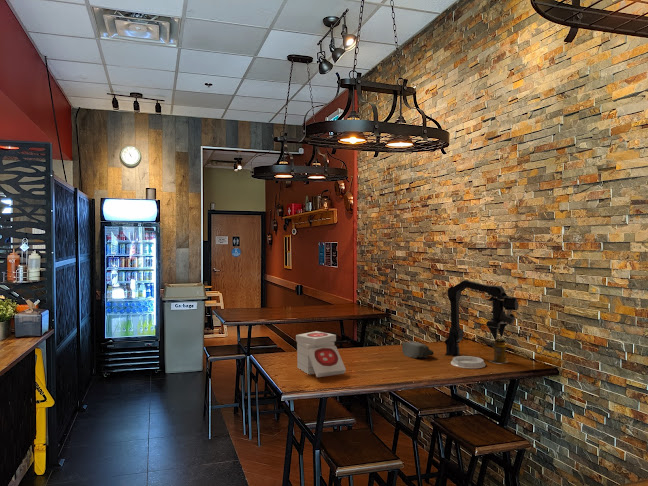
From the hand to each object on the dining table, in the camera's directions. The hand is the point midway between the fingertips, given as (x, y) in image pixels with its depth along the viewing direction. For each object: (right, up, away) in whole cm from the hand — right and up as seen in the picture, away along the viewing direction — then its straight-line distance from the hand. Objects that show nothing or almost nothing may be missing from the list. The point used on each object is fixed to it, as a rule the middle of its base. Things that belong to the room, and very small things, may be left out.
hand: (498, 337), depth 268 cm
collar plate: (-18, -13, -4) cm, 23 cm away
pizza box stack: (-97, -15, -16) cm, 99 cm away
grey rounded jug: (-42, -14, +16) cm, 47 cm away
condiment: (0, -13, 0) cm, 13 cm away
